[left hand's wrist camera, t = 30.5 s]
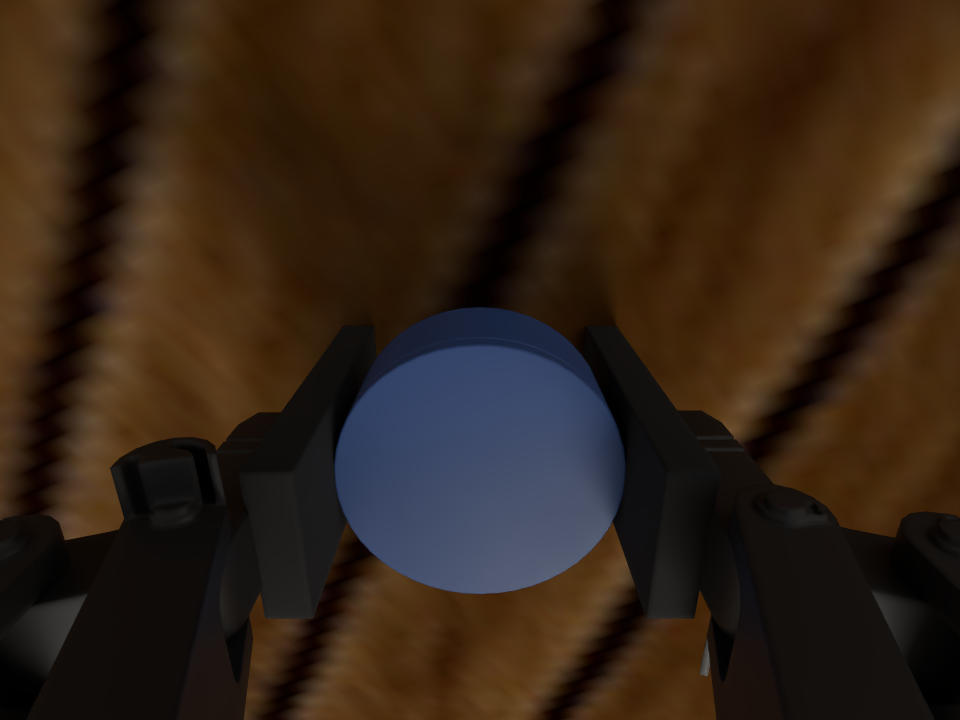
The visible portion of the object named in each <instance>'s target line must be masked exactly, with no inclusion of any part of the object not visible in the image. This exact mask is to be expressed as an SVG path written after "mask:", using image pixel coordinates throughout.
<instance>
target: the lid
mask: <svg viewBox="0 0 960 720" xmlns="http://www.w3.org/2000/svg"><path fill="white" fill-rule="evenodd" d="M625 473H626V458H625V450H624V445H623V441H622V438H621V434H620V431H619V428H618V426H617V424H616V422H615V420H614V418H613V416H612V413H611V411H610V409H609V407H608V405H607V403H606V401H605V399H604V396H603V394H602V392H601V390H600V388H599V386H598V384H597V381H596V379H595V377H594V375H593V373H592V371H591V369H590V367H589V365H588V364H587V362H586V361H585V359H584V358H583V356H582V355H581V354H580V352H579V351H578V350H577V349H576V348H575V347H574V346H573V345H572V344H571V343H570V342H569V341H568V340H567V339H566V338H565V337H563V336H562V335H561V334H560V333H559V332H557V331H556V330H554V329H552V328H551V327H549V326H548V325H546V324H545V323H542V322H540V321H538V320H536V319H534V318H532V317H530V316H527V315H523V314H520V313H517V312H514V311H509V310H504V309H498V308H484V307H475V308H461V309H456V310H452V311H447V312H443V313H440V314H437V315H434V316H431V317H428V318H426V319H424V320H422V321H420V322H418V323H416V324H414V325H412V326H411V327H409V328H408V329H406V330H405V331H403V332H402V333H400V334H399V335H398V336H397V337H396V338H395V339H393V340H392V341H391V342H390V343H389V344H388V345H387V346H386V347H385V348H384V350H383V351H382V352H381V353H380V354H379V355H378V357H377V358H376V360H375V361H374V363H373V365H372V366H371V368H370V369H369V371H368V373H367V375H366V378H365V380H364V382H363V384H362V386H361V388H360V390H359V392H358V394H357V396H356V399H355V401H354V403H353V405H352V407H351V409H350V411H349V413H348V415H347V417H346V420H345V422H344V424H343V427H342V429H341V431H340V434H339V438H338V441H337V445H336V449H335V459H334V474H335V483H336V490H337V496H338V499H339V502H340V505H341V508H342V510H343V513H344V515H345V517H346V519H347V521H348V523H349V524H350V526H351V528H352V529H353V531H354V532H355V534H356V535H357V536H358V538H359V539H360V541H361V542H362V543H363V544H364V545H365V546H366V547H367V548H368V549H369V550H370V551H371V552H372V553H373V554H374V555H375V556H376V557H378V558H379V559H380V560H381V561H382V562H384V563H385V564H386V565H388V566H389V567H391V568H392V569H394V570H396V571H397V572H399V573H400V574H402V575H405V576H407V577H409V578H411V579H413V580H415V581H417V582H420V583H423V584H425V585H428V586H431V587H435V588H439V589H443V590H447V591H454V592H460V593H474V594H487V593H501V592H507V591H513V590H518V589H522V588H525V587H529V586H533V585H535V584H538V583H540V582H543V581H546V580H548V579H550V578H552V577H554V576H556V575H558V574H560V573H562V572H564V571H565V570H567V569H568V568H570V567H571V566H573V565H574V564H576V563H577V562H578V561H579V560H581V559H582V558H583V557H584V556H585V555H586V554H588V553H589V552H590V551H591V550H592V549H593V547H594V546H595V545H596V544H597V543H598V542H599V541H600V540H601V538H602V537H603V536H604V534H605V533H606V531H607V530H608V528H609V527H610V525H611V523H612V521H613V519H614V517H615V515H616V513H617V511H618V509H619V506H620V503H621V500H622V497H623V491H624V483H625Z"/></svg>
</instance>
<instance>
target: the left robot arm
mask: <svg viewBox="0 0 960 720" xmlns="http://www.w3.org/2000/svg"><path fill="white" fill-rule="evenodd" d="M584 359H585V361H586V362H587V364H588V365H589V367H590V369H591V371H592V373H593V375H594V377H595V379H596V381H597V384H598V386H599V388H600V390H601V392H602V394H603V396H604V399H605V401H606V403H607V405H608V407H609V409H610V411H611V413H612V416H613V418H614V420H615V422H616V424H617V426H618V428H619V431H620V434H621V438H622V441H623V445H624V450H625V458H626V473H625V483H624V491H623V497H622V500H621V503H620V506H619V509H618V511H617V513H616V515H615V517H614V519H613V523H614V526H615V529H616V532H617V535H618V538H619V540H620V543H621V546H622V549H623V552H624V555H625V558H626V561H627V563H628V566H629V569H630V572H631V575H632V578H633V581H634V584H635V586H636V589H637V592H638V595H639V598H640V601H641V604H642V607H643V610H644V612H645V615H646V618H694V617H695V611H696V606H697V600H698V595H699V590H700V591H701V593H702V595H703V597H704V600H705V602H706V604H707V606H708V608H709V610H710V612H711V618H710V623H709V628H708V633H707V638H706V643H705V648H704V653H703V658H702V663H701V669H700V675H704V676H707V675H708V671H709V666H710V668H711V676H712V685H713V693H714V702H715V710H716V719H717V720H960V518H959V517H958V516H955V515H951V514H942V513H933V512H918V513H910V514H909V515H907V516H906V517H904V518H903V519H902V520H901V522H900V525H899V528H898V531H897V534H896V537H895V538H893V537H888V536H883V535H878V534H872V533H867V532H862V531H857V530H852V529H847V528H843V527H840V526H839V524H838V522H837V519H836V518H835V516H834V515H833V514H832V513H831V511H830V510H829V509H828V508H827V507H826V506H825V505H823V504H822V503H820V502H819V501H817V500H816V499H815V498H813V497H812V496H809V495H807V494H804V493H802V492H800V491H797V490H795V489H792V488H788V487H783V486H779V485H775V484H773V483H772V482H771V480H770V479H769V478H768V477H767V476H766V475H765V473H764V472H763V471H762V470H761V469H760V467H759V466H758V465H757V464H756V463H755V462H754V460H753V459H752V458H751V457H750V456H749V454H748V453H747V452H744V449H743V447H742V446H741V445H740V444H739V443H738V441H737V440H734V437H733V436H732V434H731V433H730V432H729V431H728V430H727V428H726V427H725V426H724V425H723V424H722V423H721V422H720V421H718V420H716V419H715V418H713V417H711V416H710V415H708V414H706V413H704V412H703V411H677V410H676V408H675V407H674V405H673V404H672V403H671V401H670V400H669V398H668V397H667V396H666V394H665V393H664V392H663V390H662V389H661V387H660V386H659V385H658V383H657V382H656V380H655V379H654V378H653V376H652V375H651V373H650V372H649V371H648V369H647V368H646V367H645V365H644V364H643V362H642V361H641V360H640V358H639V357H638V355H637V354H636V353H635V351H634V350H633V349H632V347H631V346H630V344H629V343H628V342H627V340H626V339H625V337H624V336H623V335H622V333H621V332H620V330H619V329H618V328H617V326H586V333H585V346H584ZM375 360H376V346H375V333H374V326H343V327H342V329H341V330H340V332H339V333H338V334H337V336H336V337H335V338H334V340H333V341H332V343H331V344H330V345H329V347H328V348H327V350H326V351H325V352H324V354H323V355H322V356H321V358H320V359H319V361H318V362H317V363H316V365H315V366H314V368H313V369H312V370H311V372H310V373H309V374H308V376H307V377H306V379H305V380H304V381H303V383H302V384H301V386H300V387H299V388H298V390H297V391H296V392H295V394H294V395H293V397H292V398H291V399H290V401H289V402H288V404H287V405H286V406H285V408H284V409H283V410H282V412H259V413H257V414H255V415H254V416H252V417H250V418H249V419H247V420H245V421H244V422H242V423H240V424H239V425H238V426H237V427H236V428H235V429H234V430H233V432H232V433H231V434H230V435H229V436H228V438H227V439H226V442H223V443H222V445H221V446H220V447H219V448H218V449H217V451H216V448H215V445H213V444H212V443H210V442H209V441H208V440H205V439H199V438H194V437H184V438H171V439H166V440H161V441H156V442H153V443H150V444H147V445H145V446H142V447H139V448H136V449H134V450H133V451H131V452H129V453H128V454H126V455H124V456H122V457H121V458H119V459H118V460H117V461H116V462H115V463H114V464H113V465H112V467H111V468H110V470H111V473H112V477H113V480H114V484H115V487H116V491H117V494H118V498H119V501H120V505H121V508H122V512H123V515H124V521H123V523H122V525H121V527H120V529H119V530H115V531H111V532H106V533H101V534H96V535H90V536H85V537H80V538H75V539H70V540H65V539H64V536H63V533H62V530H61V527H60V524H59V522H58V521H56V520H55V519H53V518H52V517H51V516H45V515H36V514H32V515H24V516H13V517H9V518H4V519H3V520H1V521H0V720H244V712H245V703H246V695H247V686H248V677H249V669H250V660H251V652H252V643H253V635H252V628H251V623H250V618H249V614H250V612H251V610H252V608H253V606H254V604H255V602H256V599H257V597H258V595H259V593H260V592H261V598H262V603H263V608H264V614H265V618H271V619H313V617H314V614H315V611H316V608H317V606H318V603H319V600H320V597H321V594H322V591H323V588H324V585H325V583H326V580H327V577H328V574H329V571H330V568H331V565H332V562H333V560H334V557H335V554H336V551H337V548H338V545H339V542H340V540H341V537H342V534H343V531H344V528H345V525H346V522H347V519H346V517H345V515H344V513H343V510H342V508H341V505H340V502H339V499H338V496H337V490H336V483H335V474H334V459H335V449H336V445H337V441H338V438H339V434H340V431H341V429H342V427H343V424H344V422H345V420H346V417H347V415H348V413H349V411H350V409H351V407H352V405H353V403H354V401H355V399H356V396H357V394H358V392H359V390H360V388H361V386H362V384H363V382H364V380H365V378H366V375H367V373H368V371H369V369H370V368H371V366H372V365H373V363H374V361H375Z"/></svg>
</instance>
